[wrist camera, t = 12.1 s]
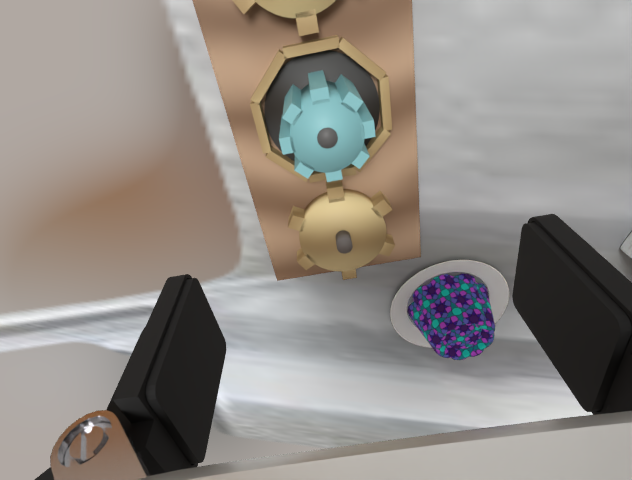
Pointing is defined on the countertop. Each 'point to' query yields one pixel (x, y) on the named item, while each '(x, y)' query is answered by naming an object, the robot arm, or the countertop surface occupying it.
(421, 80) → the countertop surface
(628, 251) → the supplement box
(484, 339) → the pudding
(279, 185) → the gear board
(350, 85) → the loose gear
